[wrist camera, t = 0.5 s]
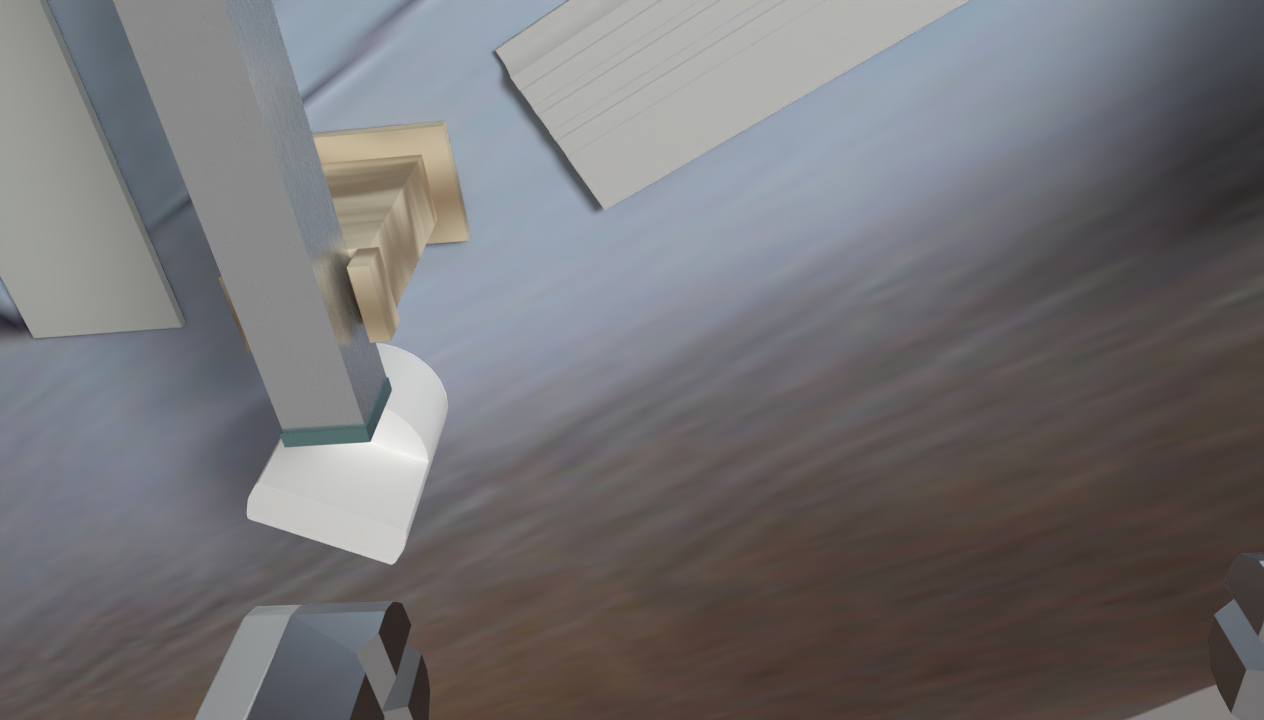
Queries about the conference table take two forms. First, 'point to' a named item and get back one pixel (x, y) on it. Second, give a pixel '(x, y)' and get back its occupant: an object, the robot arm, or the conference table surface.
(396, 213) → the post
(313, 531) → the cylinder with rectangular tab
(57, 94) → the pale gray flat board
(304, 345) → the rail
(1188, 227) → the conference table surface
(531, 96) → the baseboard molding
